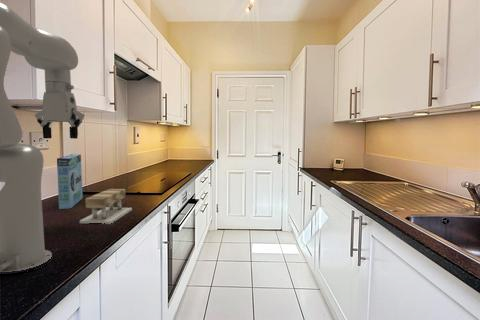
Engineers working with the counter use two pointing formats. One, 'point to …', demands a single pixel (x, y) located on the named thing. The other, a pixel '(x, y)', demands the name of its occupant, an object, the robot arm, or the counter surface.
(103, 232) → the counter surface
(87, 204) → the oak shelf board
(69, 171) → the light blue carton
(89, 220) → the peg stand
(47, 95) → the robot arm
